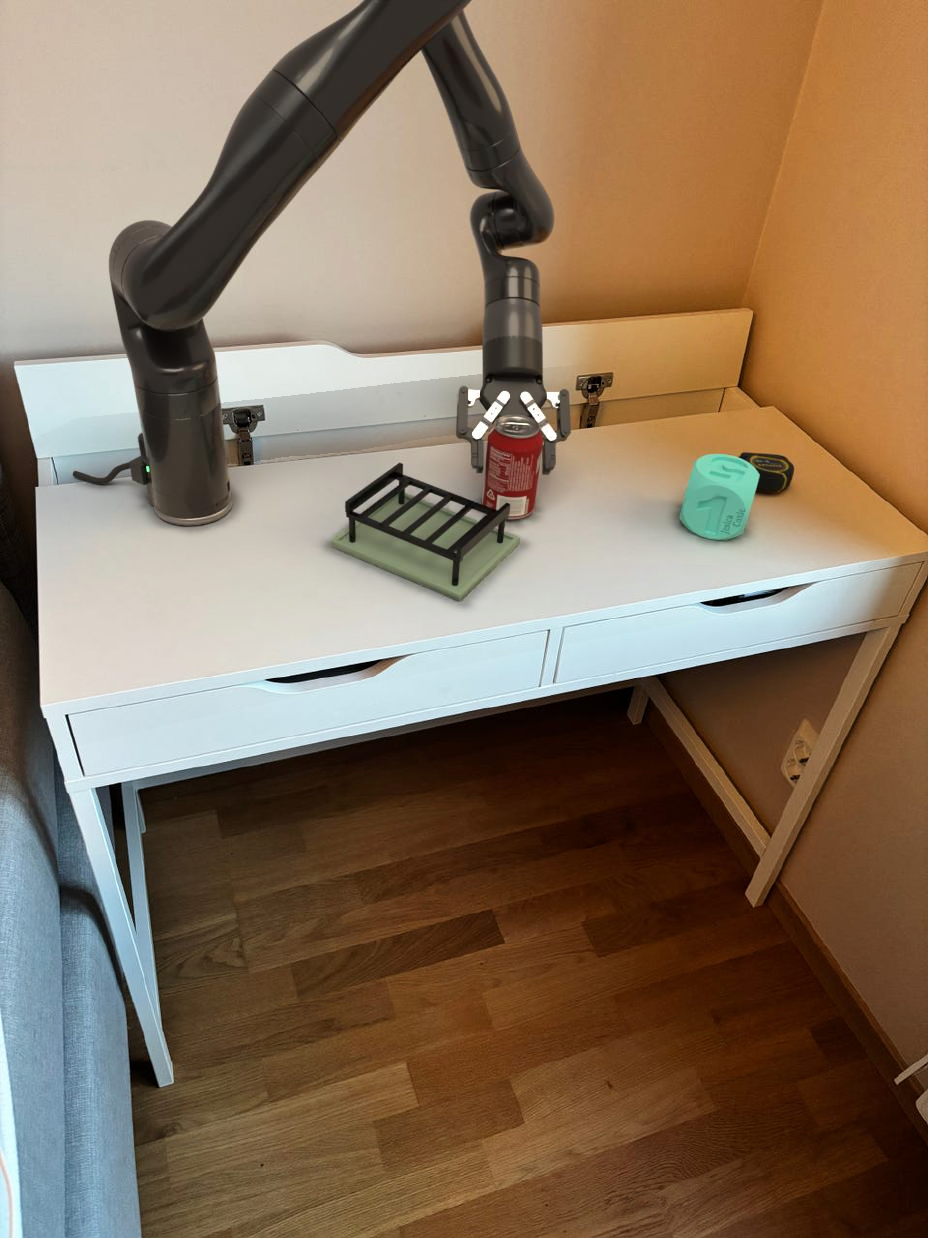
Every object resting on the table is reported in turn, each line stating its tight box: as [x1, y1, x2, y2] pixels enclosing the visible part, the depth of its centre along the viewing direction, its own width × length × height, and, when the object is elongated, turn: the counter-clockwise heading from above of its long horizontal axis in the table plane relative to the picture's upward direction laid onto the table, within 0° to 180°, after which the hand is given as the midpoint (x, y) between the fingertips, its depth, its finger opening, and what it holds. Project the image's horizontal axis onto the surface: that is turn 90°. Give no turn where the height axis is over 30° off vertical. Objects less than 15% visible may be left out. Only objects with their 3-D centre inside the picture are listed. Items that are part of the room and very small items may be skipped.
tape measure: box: [737, 451, 795, 494], centre depth 128 cm, size 7×7×4 cm
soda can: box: [481, 414, 544, 521], centre depth 117 cm, size 7×7×12 cm
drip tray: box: [330, 492, 521, 603], centre depth 113 cm, size 18×14×1 cm
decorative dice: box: [679, 453, 760, 541], centre depth 119 cm, size 8×8×8 cm
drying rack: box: [344, 462, 511, 586], centre depth 111 cm, size 16×11×6 cm
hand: (513, 472), depth 116 cm, fingers open, 8 cm apart
